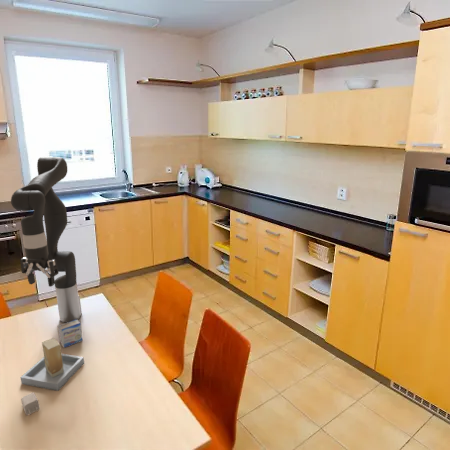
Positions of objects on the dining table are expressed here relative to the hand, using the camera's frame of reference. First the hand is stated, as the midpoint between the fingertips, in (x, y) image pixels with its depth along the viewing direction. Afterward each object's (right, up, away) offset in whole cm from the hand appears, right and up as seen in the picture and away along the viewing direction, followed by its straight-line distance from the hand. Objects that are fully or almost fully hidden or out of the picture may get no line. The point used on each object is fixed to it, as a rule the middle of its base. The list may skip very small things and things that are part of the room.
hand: (41, 284), depth 134 cm
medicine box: (+5, -27, +15) cm, 32 cm away
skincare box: (+7, -32, -3) cm, 33 cm away
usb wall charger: (+8, -38, -20) cm, 43 cm away
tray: (+6, -32, -3) cm, 33 cm away
